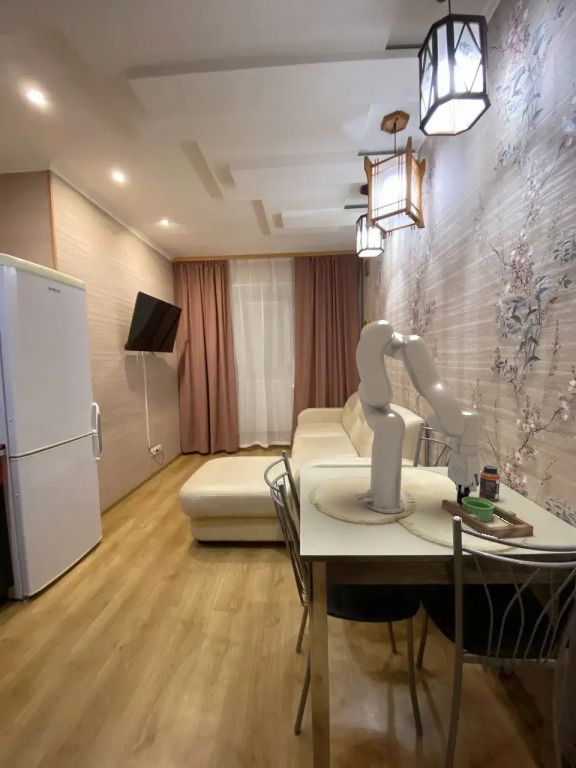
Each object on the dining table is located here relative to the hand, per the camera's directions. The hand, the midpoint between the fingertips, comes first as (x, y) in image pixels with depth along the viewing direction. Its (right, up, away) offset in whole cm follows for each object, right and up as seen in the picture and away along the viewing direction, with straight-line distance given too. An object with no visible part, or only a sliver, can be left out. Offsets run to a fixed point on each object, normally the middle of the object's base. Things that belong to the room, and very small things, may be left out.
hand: (462, 503), depth 116 cm
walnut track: (+2, -2, -9) cm, 9 cm away
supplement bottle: (+13, -1, +7) cm, 15 cm away
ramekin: (+1, -2, -7) cm, 7 cm away
